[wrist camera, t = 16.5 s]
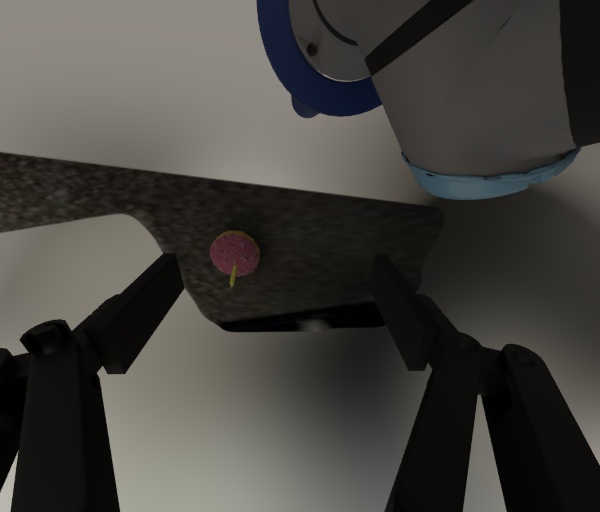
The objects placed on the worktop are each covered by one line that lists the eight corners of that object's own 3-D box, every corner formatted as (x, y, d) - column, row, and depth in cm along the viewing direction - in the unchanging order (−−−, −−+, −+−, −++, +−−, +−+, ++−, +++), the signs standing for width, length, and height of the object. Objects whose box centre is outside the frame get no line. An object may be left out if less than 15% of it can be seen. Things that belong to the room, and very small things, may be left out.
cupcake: (269, 253, 47) (263, 289, 36) (232, 268, 48) (215, 307, 37) (248, 215, 43) (234, 243, 32) (208, 233, 44) (182, 265, 34)
